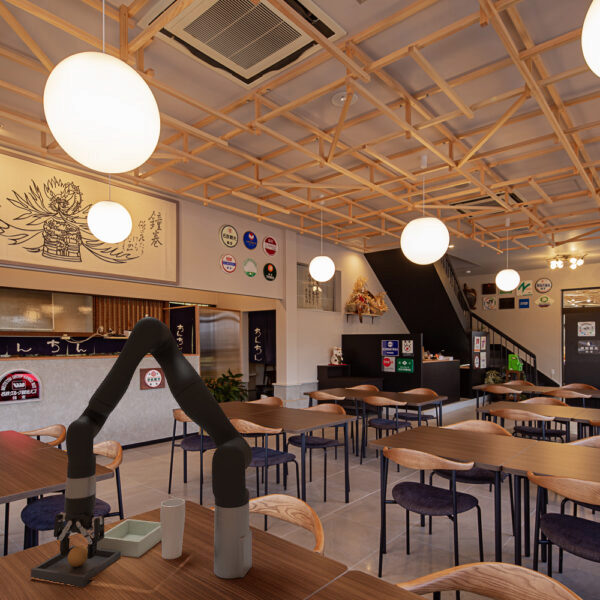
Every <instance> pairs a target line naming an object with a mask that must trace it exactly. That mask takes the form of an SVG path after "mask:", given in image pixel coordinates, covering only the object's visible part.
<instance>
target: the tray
mask: <svg viewBox="0 0 600 600" xmlns="http://www.w3.org/2000/svg"><path fill="white" fill-rule="evenodd" d="M76 546H77V545H71V546H69V552H70V551H71V549H73V548H74V547H76ZM85 547H86V548H87V549H88V546H85ZM69 552H68V553H67V554H65V555H61V552H60V551H59V552H58V553H56V554H55V555H54V556H51V557H50V558H48V559H47V560H45V561H43V562H40V564H38V565H36V566H35V567H32V568H31V569H30V578H31V577H34V578H39V579H44V580H49V581H53V582H59V583H64V584H70V585H74V586H78V587H77V588H80V587H82V588H81V589H84V588H85V587H87V586H88V585H89V584H91V583H92V582H94V580H93V579H92V578H93V577H95V576H97V575H98V574H99V573H100V572H102V571H104V570H106V569H107V568H108V567H109V566H110V565H113V563H115V562H117V561H118V560H119V559H121V557H122V555H121V552H120V551H112V550H105V549H97V553H96V555H95V556H94V557H93V558H91V559H88V558H87V560H86V562H85V563H84V564H83V565H81V566H79V567H73V566H71V565H70V564H69V563H68V554H69ZM91 581H92V582H91ZM90 582H91V583H90ZM74 586H73V587H74ZM83 587H84V588H83Z"/></svg>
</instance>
